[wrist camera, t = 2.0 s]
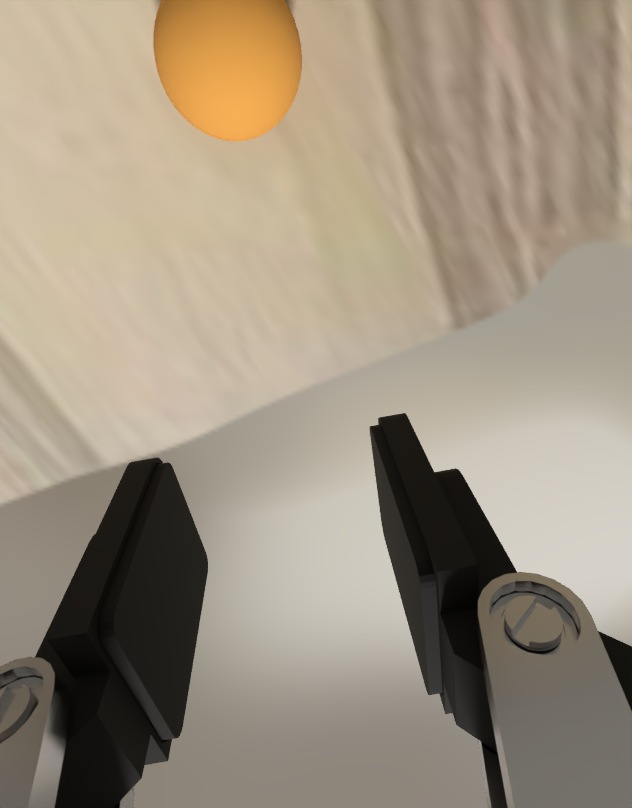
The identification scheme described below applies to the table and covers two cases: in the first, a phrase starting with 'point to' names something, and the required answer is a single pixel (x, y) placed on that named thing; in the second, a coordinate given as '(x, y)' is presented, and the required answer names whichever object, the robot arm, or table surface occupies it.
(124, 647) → the robot arm
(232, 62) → the ball
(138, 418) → the table surface
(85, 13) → the table surface
